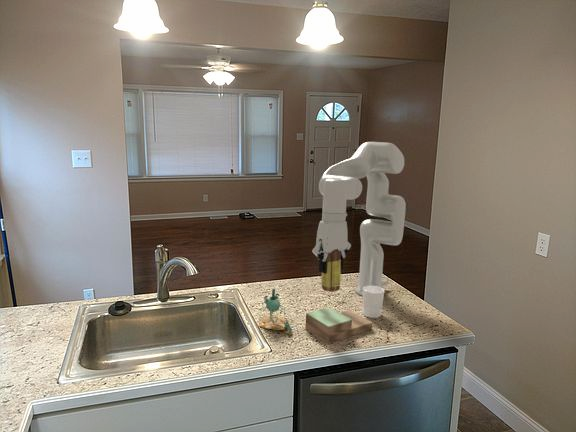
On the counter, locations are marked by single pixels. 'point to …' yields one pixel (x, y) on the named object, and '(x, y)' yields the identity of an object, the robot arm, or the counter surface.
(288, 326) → the teal toy figure
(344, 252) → the robot arm
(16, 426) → the counter surface
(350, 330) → the stand
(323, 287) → the sauce bottle
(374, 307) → the white cup
